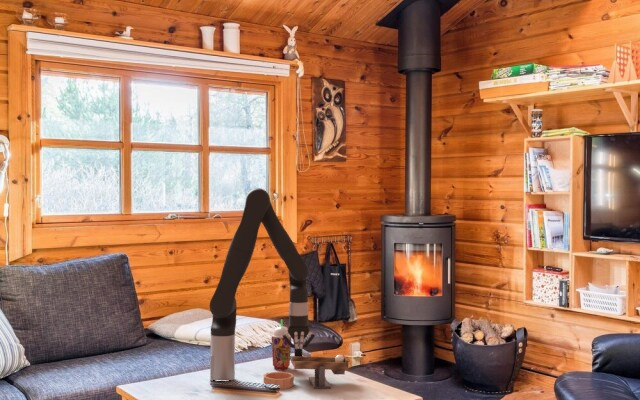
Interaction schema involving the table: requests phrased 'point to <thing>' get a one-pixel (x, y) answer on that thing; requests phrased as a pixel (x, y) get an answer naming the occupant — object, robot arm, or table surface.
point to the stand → (320, 379)
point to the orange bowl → (279, 379)
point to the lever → (320, 363)
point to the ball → (339, 358)
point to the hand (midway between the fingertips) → (298, 358)
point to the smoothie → (280, 348)
